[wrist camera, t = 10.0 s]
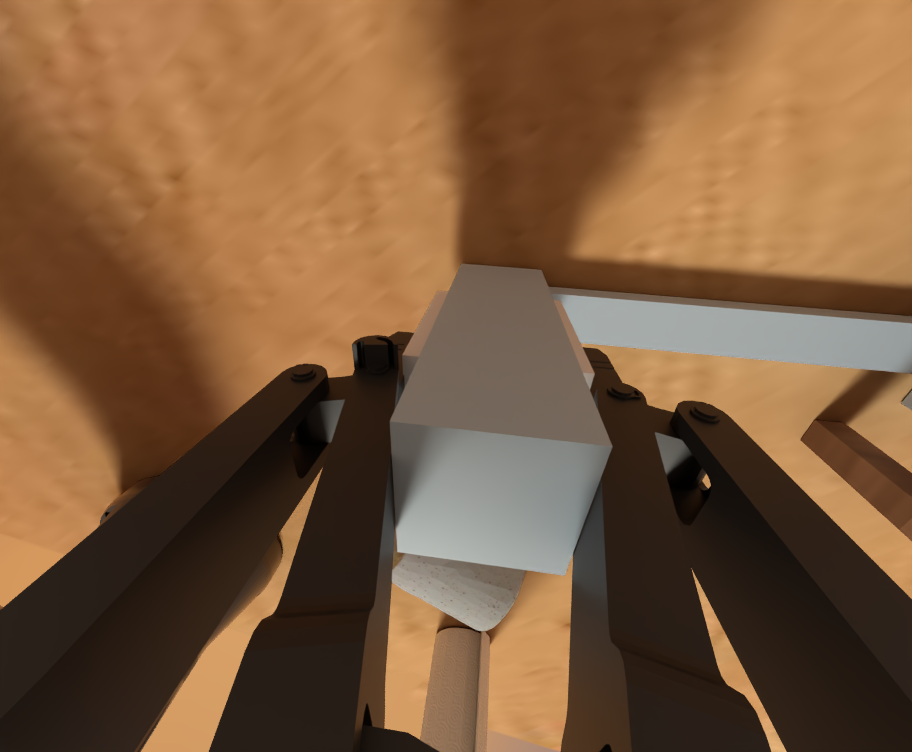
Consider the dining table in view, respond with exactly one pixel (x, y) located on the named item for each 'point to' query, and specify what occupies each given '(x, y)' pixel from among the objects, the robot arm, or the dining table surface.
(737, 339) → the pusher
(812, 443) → the walnut table
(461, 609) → the ceramic mug
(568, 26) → the dining table surface
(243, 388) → the dining table surface
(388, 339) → the robot arm
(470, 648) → the paper towel roll
